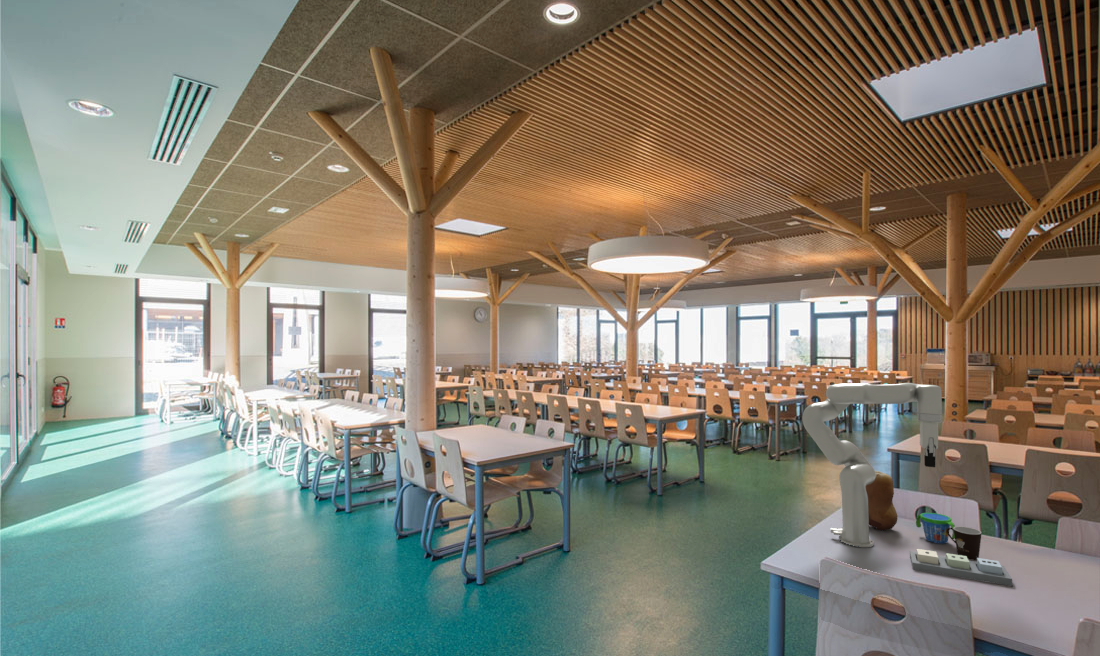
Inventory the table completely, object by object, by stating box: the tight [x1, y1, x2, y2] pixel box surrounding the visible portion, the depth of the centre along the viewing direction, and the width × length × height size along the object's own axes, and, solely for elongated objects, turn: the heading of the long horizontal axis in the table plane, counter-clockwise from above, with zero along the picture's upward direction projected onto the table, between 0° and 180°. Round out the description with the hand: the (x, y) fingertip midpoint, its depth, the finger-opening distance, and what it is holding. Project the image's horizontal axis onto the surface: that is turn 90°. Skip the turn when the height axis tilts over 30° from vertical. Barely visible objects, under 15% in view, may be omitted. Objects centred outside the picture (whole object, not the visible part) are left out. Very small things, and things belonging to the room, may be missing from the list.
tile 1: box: [916, 548, 939, 564], centre depth 196 cm, size 6×6×4 cm
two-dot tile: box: [945, 553, 970, 569], centre depth 192 cm, size 6×6×4 cm
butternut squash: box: [866, 470, 898, 532], centre depth 236 cm, size 14×13×25 cm
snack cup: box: [915, 512, 956, 544], centre depth 220 cm, size 16×10×10 cm
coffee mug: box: [947, 525, 982, 561], centre depth 206 cm, size 12×9×10 cm
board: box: [909, 550, 1013, 587], centre depth 192 cm, size 28×12×2 cm, turn 60°
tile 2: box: [976, 557, 1003, 575], centre depth 187 cm, size 6×6×4 cm
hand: (929, 466), depth 200 cm, fingers closed
